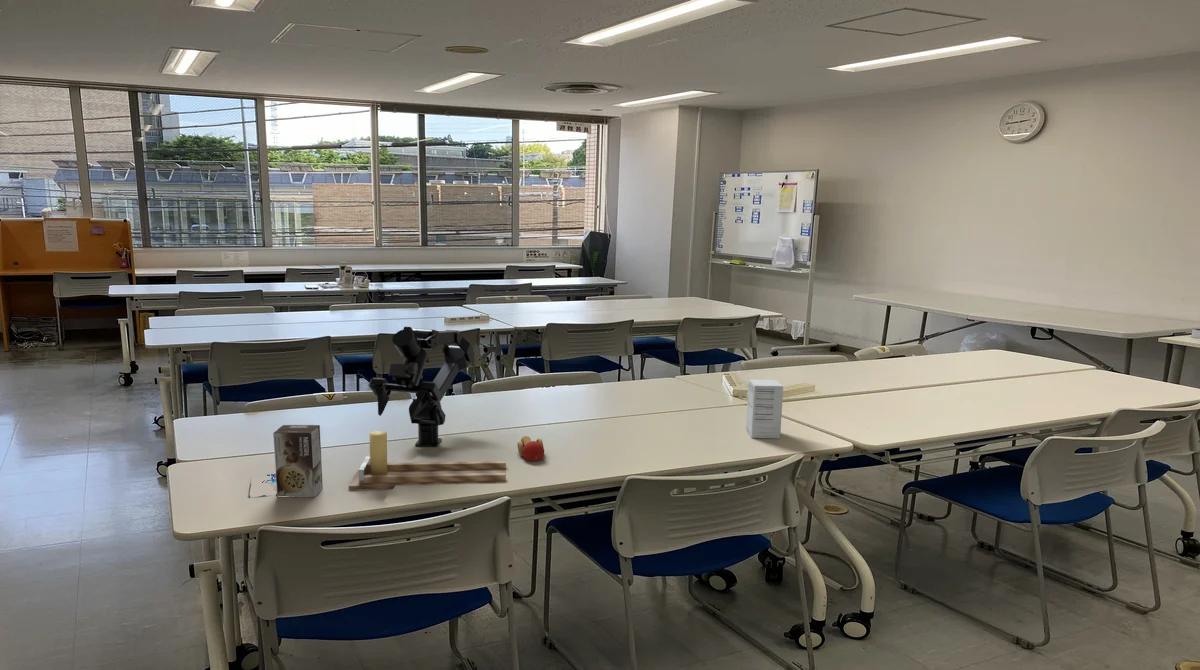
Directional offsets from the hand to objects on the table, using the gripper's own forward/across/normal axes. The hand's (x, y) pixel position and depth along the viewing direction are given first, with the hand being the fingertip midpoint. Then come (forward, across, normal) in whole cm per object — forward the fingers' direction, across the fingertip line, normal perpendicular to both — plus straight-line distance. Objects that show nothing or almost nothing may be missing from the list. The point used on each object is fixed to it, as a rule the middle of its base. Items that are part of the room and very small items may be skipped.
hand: (395, 416), depth 200 cm
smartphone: (+25, -24, -5) cm, 35 cm away
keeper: (+16, 0, +1) cm, 16 cm away
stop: (+18, -3, +1) cm, 18 cm away
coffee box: (+26, -13, -7) cm, 30 cm away
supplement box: (-30, +97, +50) cm, 113 cm away
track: (+14, +13, +5) cm, 20 cm away
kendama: (-3, +32, +22) cm, 39 cm away
